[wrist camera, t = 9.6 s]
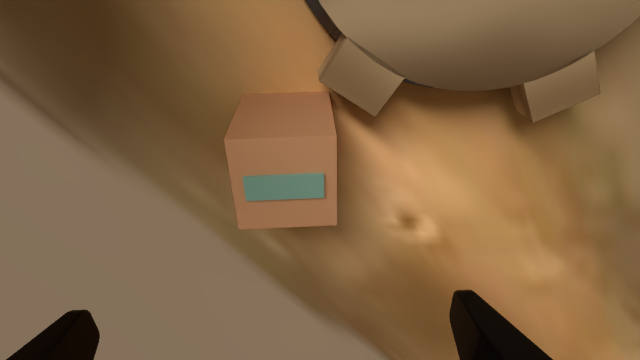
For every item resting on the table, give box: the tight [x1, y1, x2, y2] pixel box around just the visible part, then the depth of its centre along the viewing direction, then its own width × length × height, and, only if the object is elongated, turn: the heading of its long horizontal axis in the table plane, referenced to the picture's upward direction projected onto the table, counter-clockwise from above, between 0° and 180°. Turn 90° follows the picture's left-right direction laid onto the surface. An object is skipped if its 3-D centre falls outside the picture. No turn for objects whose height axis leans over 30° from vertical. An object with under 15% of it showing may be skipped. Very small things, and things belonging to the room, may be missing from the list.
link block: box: [224, 91, 337, 230], centre depth 17 cm, size 4×4×5 cm
